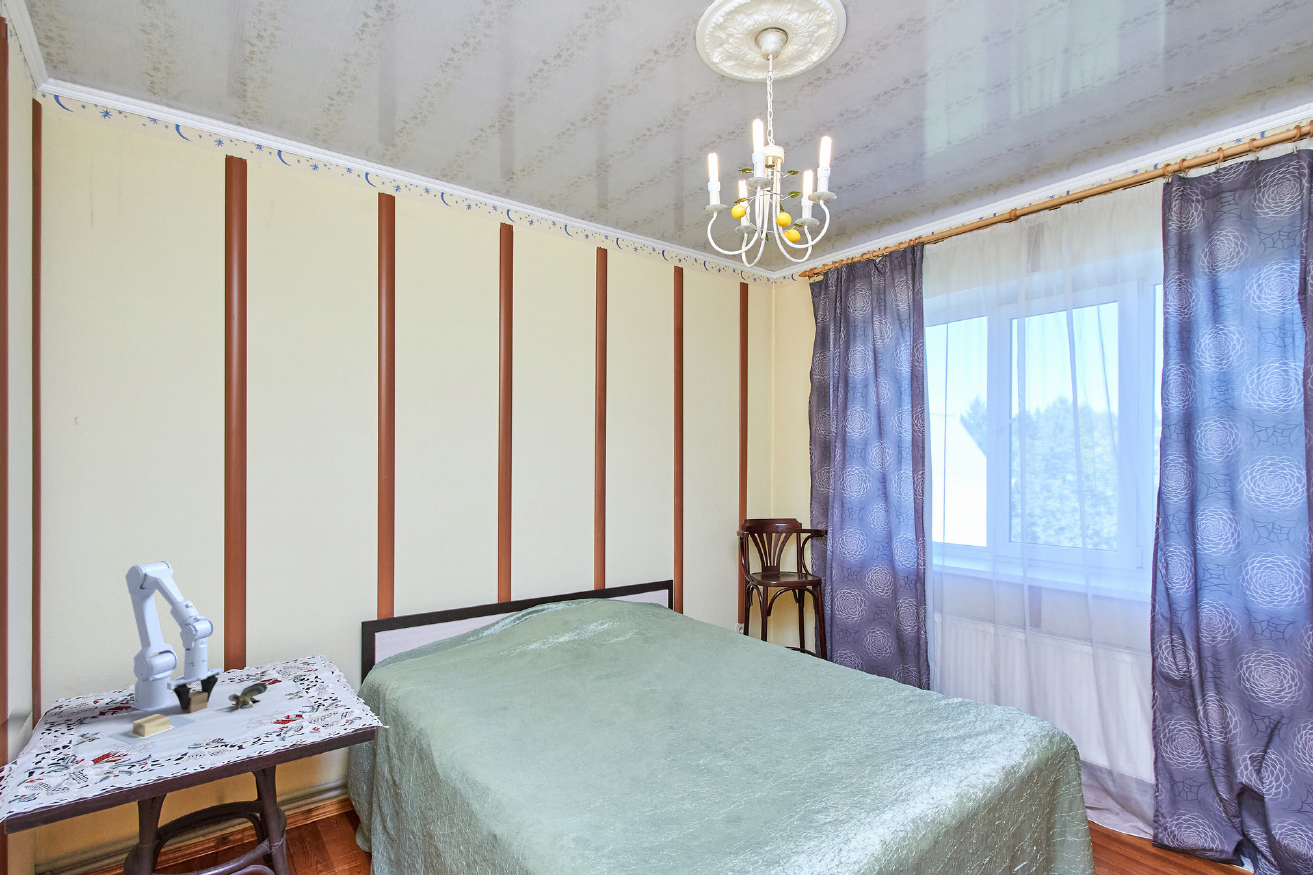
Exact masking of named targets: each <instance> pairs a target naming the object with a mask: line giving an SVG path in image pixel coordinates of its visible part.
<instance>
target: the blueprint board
mask: <svg viewBox="0 0 1313 875" xmlns="http://www.w3.org/2000/svg"><path fill="white" fill-rule="evenodd" d="M166 716H167V717H170V728H168V729H165V730H162V731H160V732H157V733H154V734H151V735H148V736H145V737H144V736H141V735H138V734H135V733H133V726H132V727H130V728H127V729H124V730H120V731H118V732H115V733H112V734H109V735H107V737H109V738H112V739H116V740H117V741H118V740H119V741H121V742H124V743H127V744H129V745H134V744H136V743H139V742H142V741H145V740H148V739H151V738H154V737H157V736H159V735H162V734H165V733H167V732H171V731H174V730H176V729H179V728H182V727H184V726H187V725H190V724H193V723H196V722H197V720H194V719H191V718H187V717H184V716H180V715H177V714H174V713H173V714H172V713H171V714H169V715H166Z"/></svg>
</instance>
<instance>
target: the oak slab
mask: <svg viewBox="0 0 1313 875" xmlns="http://www.w3.org/2000/svg"><path fill="white" fill-rule="evenodd" d="M167 716H168V715H164V714H160V713H156V714H152V715H148V716H146V717H144V718H141V719H138V720H134V721H133V722H132V727H133V733H135V734H138V735H141V736H144V737H145V736H148V735H151V734H154V733H157V732H160V731H162V730H165V729H168V728H170V717H167Z"/></svg>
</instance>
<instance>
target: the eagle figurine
mask: <svg viewBox="0 0 1313 875" xmlns="http://www.w3.org/2000/svg"><path fill="white" fill-rule="evenodd" d="M267 690H268V686H267V684H266V683H264V682H256V683H253V684H251V685H249V686H246V687H245V688H243V689H242V691H241V693H240V695H238V694H237V693H232V694H230V695H228V696H227V697H228V698H227V699H228V700H229V701H230V702H235V703H231V706H235V710H234V711H238V710H239V709H240V708H241V706H242V704H244V705H247V706H249V707H251V708H254V704H253V701H255V702H256V701H257V702H261V700H260V699H256V698H255V697H257V696H259V695H261V694H264V693H266V691H267Z"/></svg>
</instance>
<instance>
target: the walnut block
mask: <svg viewBox="0 0 1313 875" xmlns="http://www.w3.org/2000/svg"><path fill="white" fill-rule="evenodd" d="M207 698H208V693H207V692H203V691H202V690H195V691H193V692H189V697H188V709H187V710H182V709H181V710H182V712H185V713H190V714H194V713H196V712H199V711H202V710H205V709H208V703H207Z"/></svg>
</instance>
